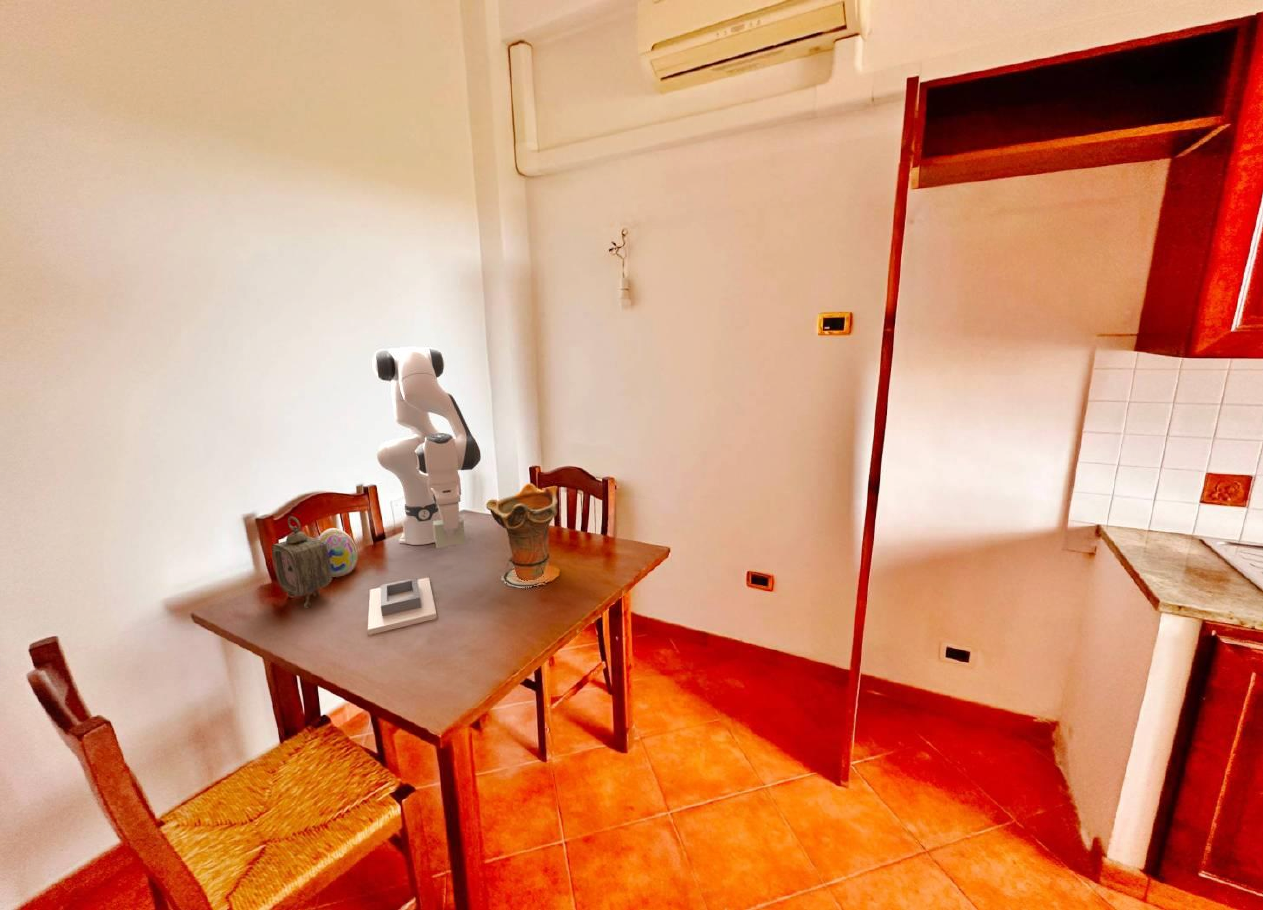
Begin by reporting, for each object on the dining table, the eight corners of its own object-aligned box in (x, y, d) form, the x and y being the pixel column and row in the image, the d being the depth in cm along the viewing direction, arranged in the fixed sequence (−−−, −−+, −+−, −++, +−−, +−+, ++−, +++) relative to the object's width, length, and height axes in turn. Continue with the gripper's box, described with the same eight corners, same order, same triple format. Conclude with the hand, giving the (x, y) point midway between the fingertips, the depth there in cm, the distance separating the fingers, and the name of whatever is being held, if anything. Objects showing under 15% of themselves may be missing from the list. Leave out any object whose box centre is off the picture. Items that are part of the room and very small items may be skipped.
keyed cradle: (370, 594, 145) (368, 580, 144) (429, 581, 152) (427, 568, 151) (368, 635, 124) (365, 618, 123) (436, 618, 131) (434, 602, 130)
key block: (435, 543, 147) (433, 521, 146) (463, 538, 151) (461, 516, 149) (436, 548, 144) (434, 525, 142) (465, 543, 147) (463, 520, 146)
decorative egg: (317, 585, 152) (309, 539, 149) (314, 571, 162) (306, 528, 159) (362, 573, 159) (355, 529, 156) (356, 561, 169) (350, 519, 166)
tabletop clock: (280, 599, 144) (264, 517, 139) (314, 586, 152) (299, 508, 146) (304, 612, 136) (287, 526, 131) (338, 598, 144) (324, 516, 138)
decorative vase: (478, 588, 146) (473, 495, 141) (518, 560, 168) (514, 479, 163) (543, 597, 140) (539, 500, 135) (575, 566, 161) (573, 482, 157)
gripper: (430, 482, 151) (435, 525, 154) (436, 501, 133) (441, 549, 137) (452, 479, 154) (456, 522, 157) (461, 497, 136) (465, 545, 139)
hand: (449, 535), depth 147 cm, fingers closed on key block, 4 cm apart
